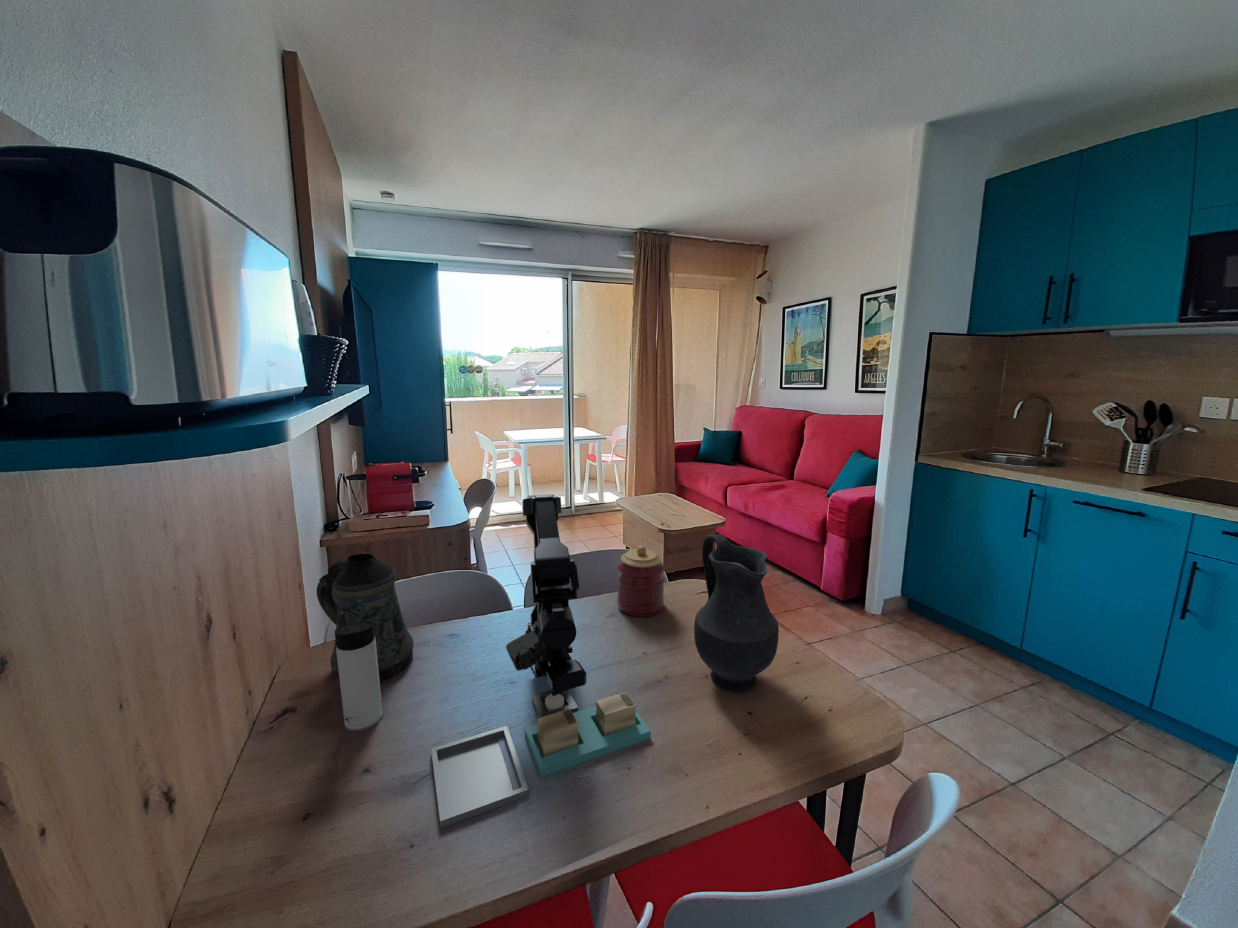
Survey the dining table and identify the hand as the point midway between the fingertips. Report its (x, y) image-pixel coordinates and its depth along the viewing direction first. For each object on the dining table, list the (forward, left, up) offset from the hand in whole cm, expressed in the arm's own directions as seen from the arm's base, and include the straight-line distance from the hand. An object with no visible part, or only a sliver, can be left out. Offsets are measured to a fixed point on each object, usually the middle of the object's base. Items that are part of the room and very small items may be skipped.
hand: (554, 694), depth 93 cm
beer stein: (-32, -33, -4) cm, 46 cm away
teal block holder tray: (+9, +3, -4) cm, 11 cm away
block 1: (+9, -2, -3) cm, 10 cm away
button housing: (0, 0, -4) cm, 4 cm away
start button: (0, 0, -4) cm, 4 cm away
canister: (-31, +35, -4) cm, 47 cm away
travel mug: (-12, -33, -4) cm, 35 cm away
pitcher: (+4, +38, -4) cm, 38 cm away
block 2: (+9, +9, -3) cm, 13 cm away
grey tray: (+9, -16, -4) cm, 19 cm away
